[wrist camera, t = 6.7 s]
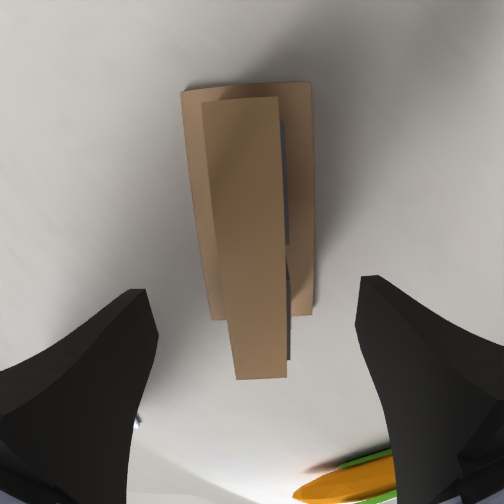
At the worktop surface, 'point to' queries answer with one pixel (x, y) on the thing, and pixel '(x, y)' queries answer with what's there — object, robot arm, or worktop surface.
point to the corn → (354, 482)
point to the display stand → (298, 179)
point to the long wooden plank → (251, 229)
